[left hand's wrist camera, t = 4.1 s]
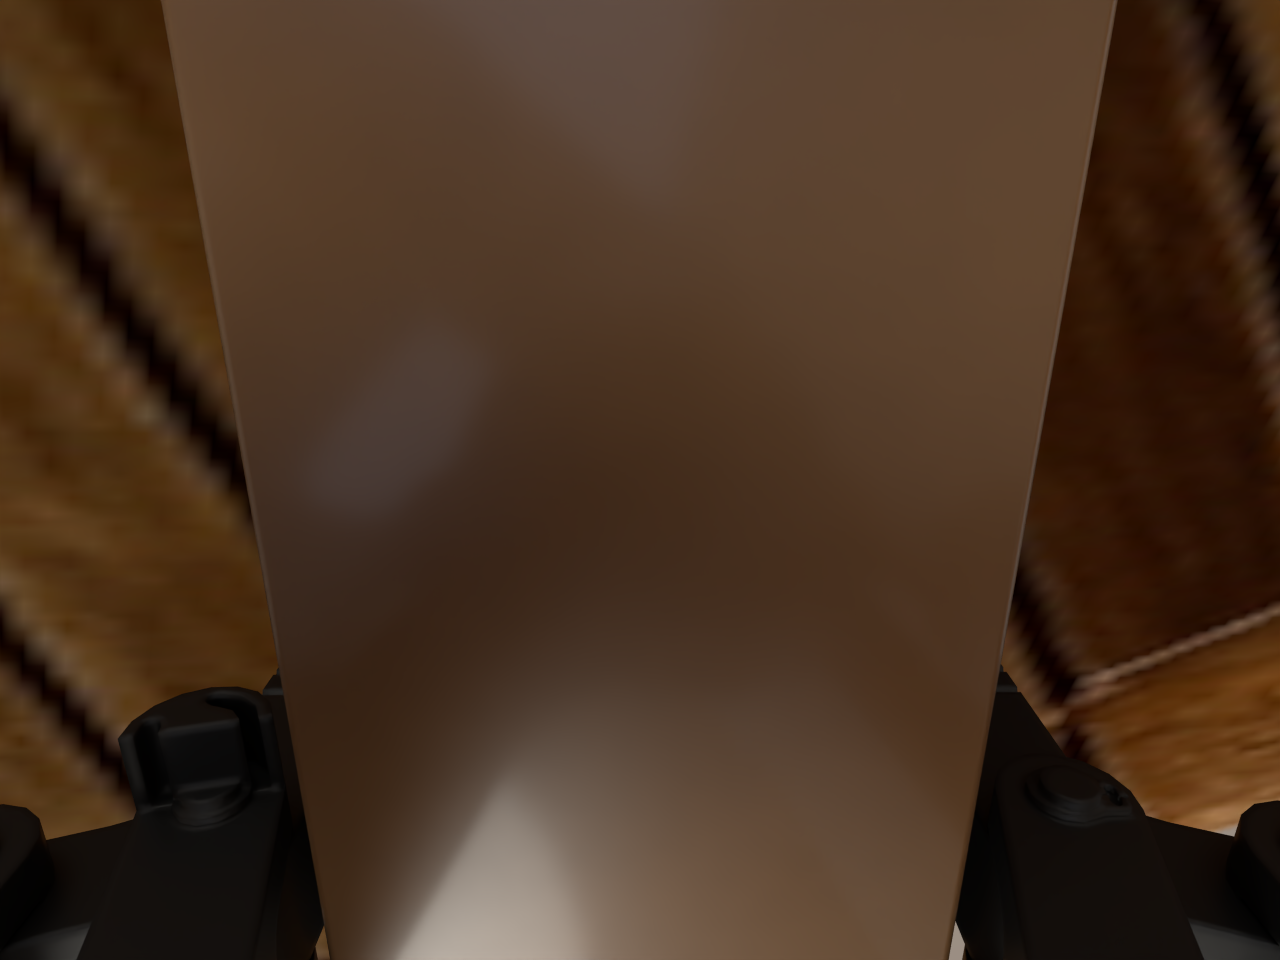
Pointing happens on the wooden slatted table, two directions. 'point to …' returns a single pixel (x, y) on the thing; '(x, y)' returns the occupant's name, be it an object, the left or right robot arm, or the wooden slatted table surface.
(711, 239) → the bar
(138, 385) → the wooden slatted table surface
